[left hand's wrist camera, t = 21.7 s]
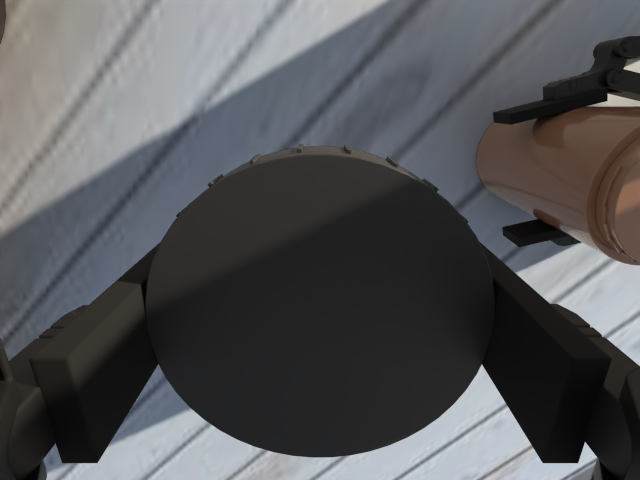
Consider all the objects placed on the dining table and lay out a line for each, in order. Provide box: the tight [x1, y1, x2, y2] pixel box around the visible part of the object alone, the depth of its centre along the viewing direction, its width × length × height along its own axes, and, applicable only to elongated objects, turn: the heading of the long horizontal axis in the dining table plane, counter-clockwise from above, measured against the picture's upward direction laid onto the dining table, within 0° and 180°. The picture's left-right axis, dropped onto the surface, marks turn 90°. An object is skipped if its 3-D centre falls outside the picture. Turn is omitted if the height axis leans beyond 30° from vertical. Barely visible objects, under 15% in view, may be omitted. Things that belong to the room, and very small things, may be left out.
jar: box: [476, 106, 640, 265], centre depth 27 cm, size 9×9×17 cm
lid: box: [145, 144, 495, 457], centre depth 11 cm, size 10×10×2 cm
